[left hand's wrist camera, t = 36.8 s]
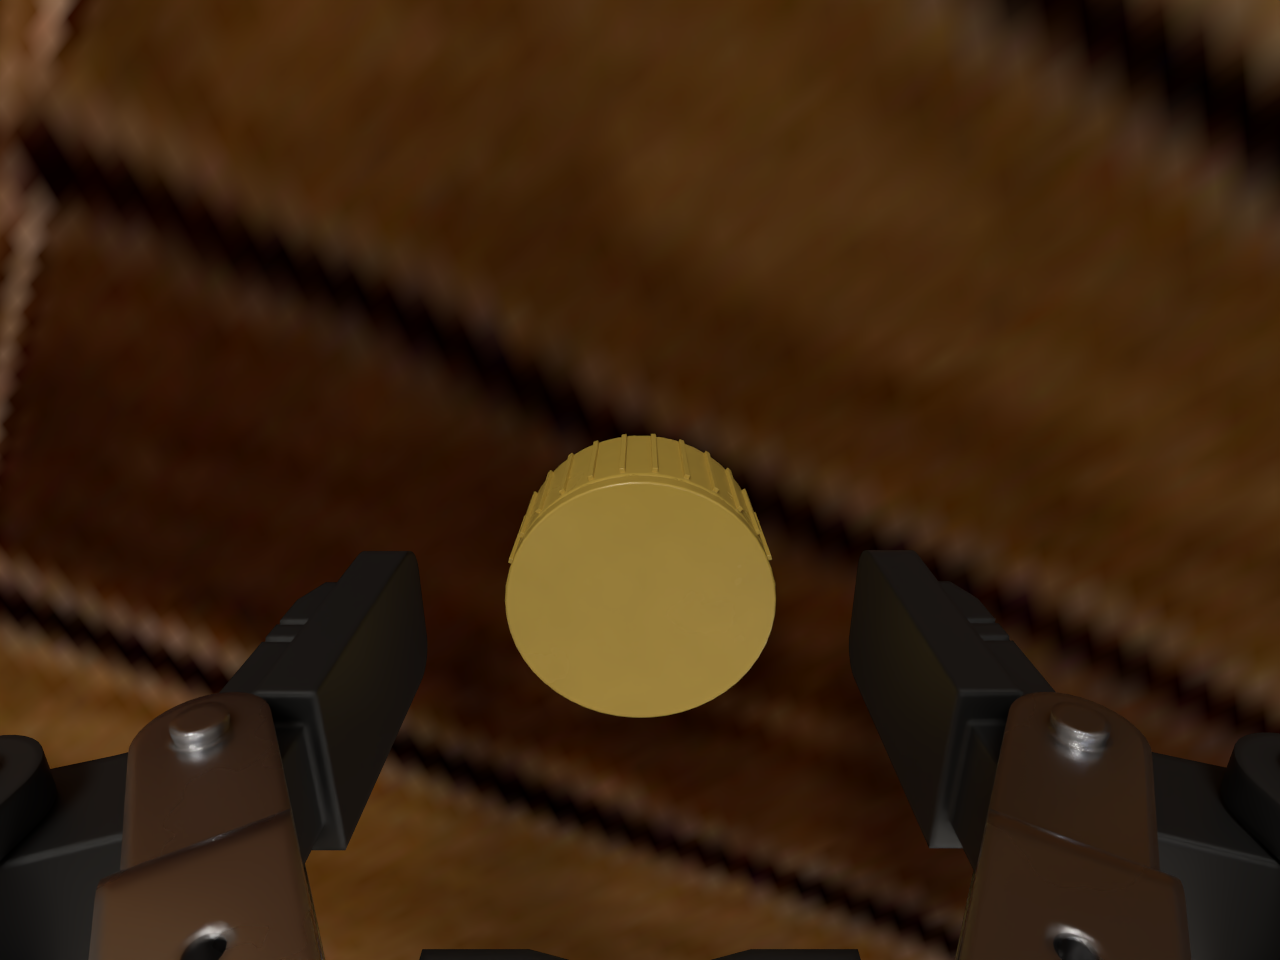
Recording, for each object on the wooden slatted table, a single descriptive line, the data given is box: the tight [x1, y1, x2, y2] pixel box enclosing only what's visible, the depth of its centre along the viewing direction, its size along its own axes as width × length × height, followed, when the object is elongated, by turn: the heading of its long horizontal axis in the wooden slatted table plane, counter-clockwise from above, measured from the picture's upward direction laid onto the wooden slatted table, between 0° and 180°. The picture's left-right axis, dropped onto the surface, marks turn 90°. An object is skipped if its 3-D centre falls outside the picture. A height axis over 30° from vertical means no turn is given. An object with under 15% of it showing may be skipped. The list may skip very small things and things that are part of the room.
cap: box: [505, 434, 776, 718], centre depth 12 cm, size 4×4×2 cm
